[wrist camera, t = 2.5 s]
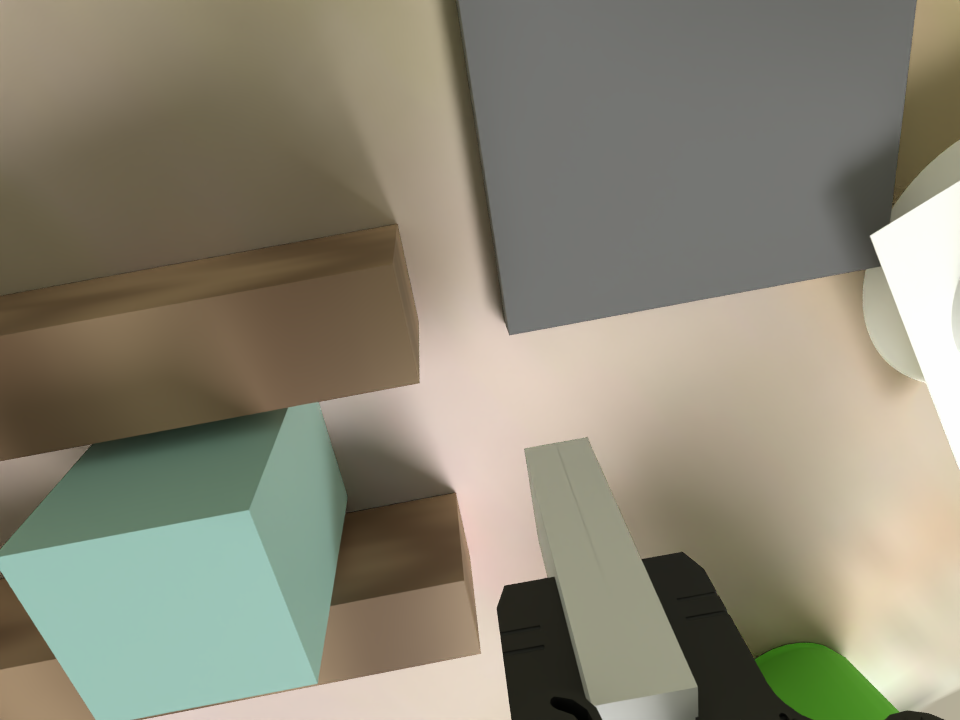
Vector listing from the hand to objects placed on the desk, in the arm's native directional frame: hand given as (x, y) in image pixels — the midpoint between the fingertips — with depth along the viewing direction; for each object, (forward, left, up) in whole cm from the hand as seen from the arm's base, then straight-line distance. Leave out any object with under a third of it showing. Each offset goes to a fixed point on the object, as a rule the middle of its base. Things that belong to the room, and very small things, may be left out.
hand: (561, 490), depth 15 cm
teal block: (-9, 0, -5) cm, 10 cm away
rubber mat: (+5, +8, -5) cm, 11 cm away
